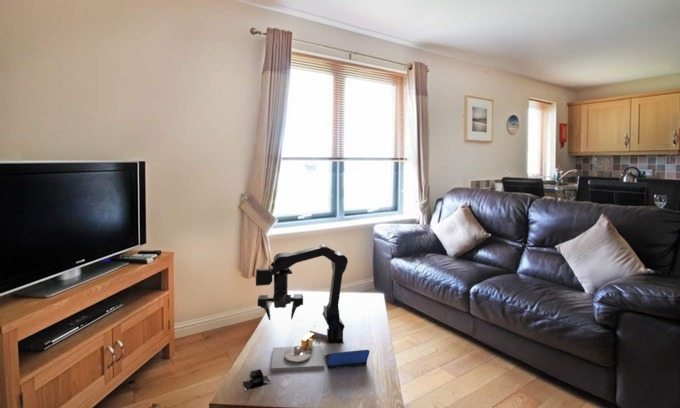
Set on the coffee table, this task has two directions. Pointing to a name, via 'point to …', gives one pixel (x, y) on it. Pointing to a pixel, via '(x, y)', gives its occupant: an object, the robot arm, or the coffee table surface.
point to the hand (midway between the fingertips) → (280, 319)
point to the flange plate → (297, 357)
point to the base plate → (311, 364)
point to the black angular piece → (256, 380)
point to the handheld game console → (347, 359)
